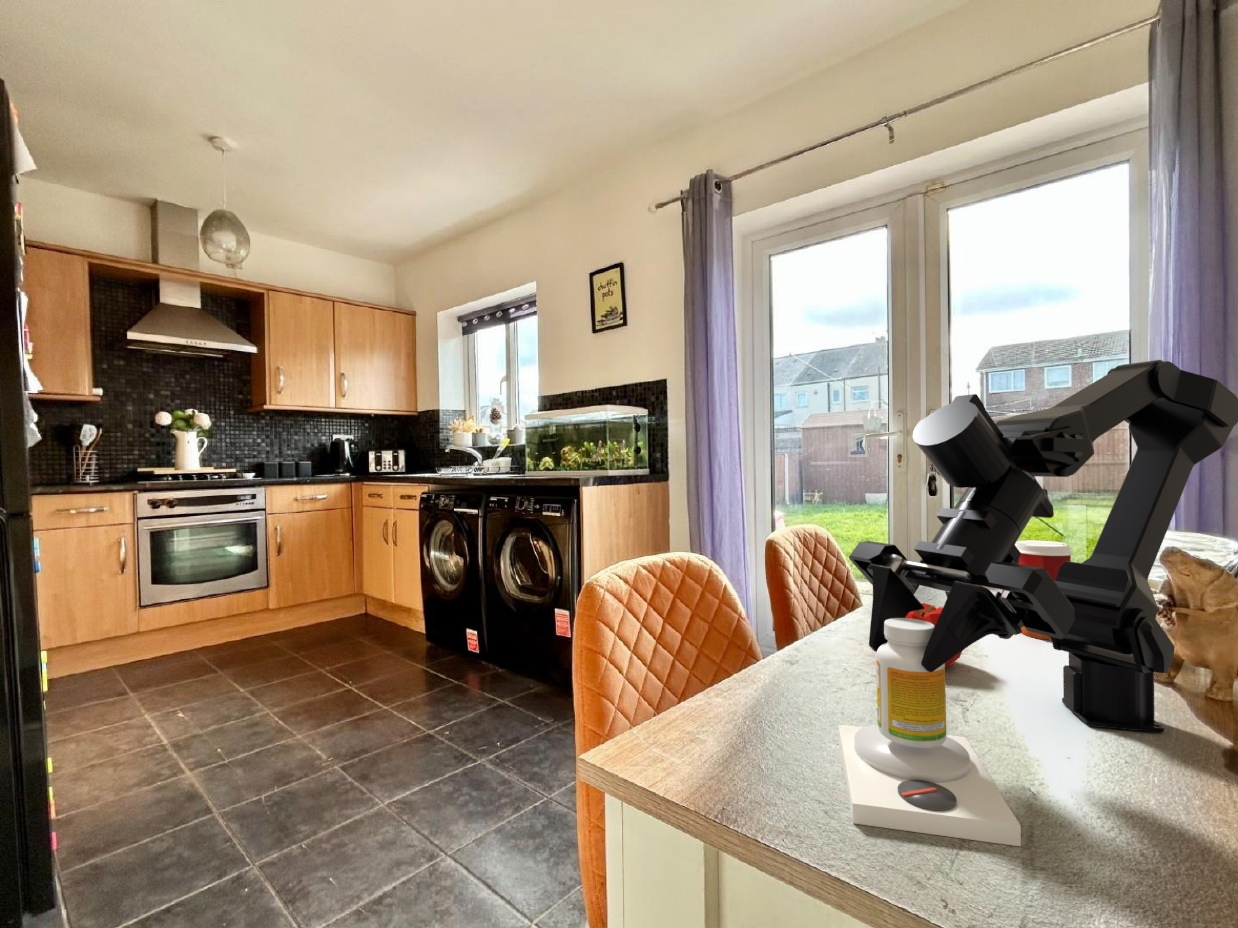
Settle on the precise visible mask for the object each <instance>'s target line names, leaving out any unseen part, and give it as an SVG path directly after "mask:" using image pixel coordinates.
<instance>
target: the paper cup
mask: <svg viewBox="0 0 1238 928" xmlns="http://www.w3.org/2000/svg"><path fill="white" fill-rule="evenodd" d="M1015 546H1016V547H1017V549H1018V550H1019V551H1020V553H1021V556H1020V557H1019V559H1020V562H1019V564H1021V565H1027V566H1033V567H1040V568H1045V570H1046V571H1047V572H1048V574H1049V575H1050V576H1051V578H1052V579H1053V580H1054V582H1055V580H1056V578H1057V575H1058V571H1059V568H1060V567H1061V566H1062V565H1063V564H1064V563H1065V562H1066V561H1069V562H1072V561H1071V559H1072V557H1071V556H1073V555H1074V552H1073V551H1072V550H1071V547H1070V546H1069V544H1068V543H1065V542H1060V541H1050V540H1049V541H1048V540H1033V539H1032V540H1031V539H1030V540H1028V539H1027V540H1026V539H1024V540H1017V542H1016V543H1015ZM1021 630H1022V632H1021V633H1020V634H1022V635H1023V636H1026V637H1029V638H1032V639H1037V638H1039V639H1038V640H1043V639H1046V640H1045V641H1052V640H1051V637H1050V636H1046V635H1042V634H1038V633H1034V632H1031V631H1028V630H1027V629H1026V628H1025V626H1023V627H1022V628H1021Z"/></svg>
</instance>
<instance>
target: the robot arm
mask: <svg viewBox="0 0 1238 928" xmlns="http://www.w3.org/2000/svg"><path fill="white" fill-rule="evenodd" d="M1122 422H1125V423H1127V424H1128V430H1129V432H1130V434H1131V436H1132V438H1133V441H1134V444H1135V445H1136V447H1137V448H1136V451H1135V454H1134V457H1133V458H1132V460H1131V463H1130V465H1129V468H1128V470H1127V472H1126V475H1125V477H1124V479H1123V481H1122V484H1121V486H1120V489H1119V491H1118V492H1117V493H1118V494H1117V496H1116V497H1115V500H1114V502H1113V504H1112V507H1111V509H1110V512H1109V514H1108V516H1107V519H1106V521H1105V523H1104V526H1102V527H1103V528H1102V529H1101V533H1100V534H1099V536H1098V538H1097V542H1096V544H1095V546H1094V548H1093V551H1092V553H1091V555H1090V557H1089V558H1087V559H1086V560H1084V561H1082V562H1075V561H1070V562H1069V561H1066V562H1065V563H1064V564H1063V565H1062V566H1061V567H1060V568H1059V571H1058V575H1057V578H1056V580H1055V582H1054V580H1053V579H1052V578H1051V576H1050V575H1049V574H1048V572H1047V571H1046V570H1045V568H1040V567H1033V566H1027V565H1021V564H1019V562H1020V559H1019V557H1020V556H1021V553H1020V551H1019V550H1018V549H1017V547H1016V546H1015V544H1016V542H1017V541H1019V538H1020V537H1021V535H1022V533H1023V531H1024V530H1025V529H1026V527H1027V525H1028V523H1029V522H1030V520H1031V519H1032V517H1033V518H1043V519H1044V518H1045V519H1052V518H1053V517H1054V515H1055V512H1054V505H1053V504H1052V503H1051V501H1050V499H1049V496H1048V495H1049V494H1048V490H1047V489H1046V488H1043V487H1042V485H1040V483H1039V481H1038V480H1037V479H1036V477H1038V478H1039V477H1045V478H1046V477H1047V478H1048V477H1049V478H1052V477H1053V478H1068V477H1070V476H1073V475H1075V474H1076V473H1077V472H1079V470H1080V469H1081V468H1082V467H1084V465H1085V464H1086V463H1087V462H1088V461H1089V460H1090V459H1091V458H1092V457H1093V455H1095V449H1094V442H1095V441H1096V440H1097V439H1099V437H1101V436H1103V435H1104V434H1106V433H1108V432H1109V431H1110V430H1112V429H1113V428H1115V427H1116V426H1118V425H1119V424H1121V423H1122ZM1237 424H1238V397H1237V395H1236V394H1235V393H1234V392H1232V391H1231V390H1230V389H1229V388H1228V387H1226V385H1224V384H1222V382H1221V381H1219V380H1217V379H1215V378H1213V377H1209V376H1208V377H1207V376H1206V375H1201V374H1198V373H1194V372H1190V371H1186V370H1183V369H1181V368H1180V367H1178V366H1177V365H1176V364H1174V363H1173V362H1172V361H1169V360H1166V361H1164V360H1162V359H1155V360H1148V361H1147V360H1146V361H1139V362H1134V363H1126V364H1120V365H1117V366H1116V367H1114V368H1111V369H1109V370H1108V372H1107V373H1106V375H1104V376H1102V377H1101V378H1100V379H1097V380H1096V381H1094V382H1092V383H1090V384H1089V385H1087V386H1085V387H1084V388H1082V389H1081V390H1079V391H1077V392H1076V393H1074V394H1071V395H1070V396H1069V397H1067V398H1065V399H1064V400H1062V401H1060V402H1059V403H1057V404H1055V405H1054V406H1052V407H1049V408H1045V409H1041V410H1036V411H1031V412H1027V413H1021V414H1017V415H1014V416H1010V417H1007V418H1004V419H1001V420H998V421H997V422H995V421H994V420H993V418H992V417H991V416H990V415H989V412H988V411H987V410H986V408H985V405H984V403H983V401H982V400H981V399H980V397H979V396H978V394H977V393H974V394H973V393H971V394H963V395H956V396H955V397H954V399H953V400H952V401H951V403H949V404H946V405H945V406H941V407H940V408H938V409H936V410H935V411H932V412H931V413H930V414H929V415H927V416H926V417H925V418H921V419H920V420H919V421H918V423H917V424H916V425H915V427H914V429H913V432H912V439H913V441H914V442H915V444H916V445H917V446H918V448H919V449H920V450H921V451H922V453H923V454H924V455H925V457H926V458H927V459H928V461H929V462H930V463H931V465H933V467H934V468H935V470H936V471H937V472H938V474H939V475H940V476H941V478H943V480H944V482H945V483H947V485H949V486H951V487H953V488H958V489H959V488H961V489H963V488H964V489H965V488H966V489H965V491H964V492H963V494H962V495H961V496H960V498H959V499H958V501H957V503H956V504H955V505H954V507H953V508H949V507H948V508H947V507H941V508H940V510H939V511H938V513H937V514H936V517H937V519H938V520H939V521H940V522H941V524H942V525H941V526H940V528H939V529H938V531H937V532H936V534H935V536H934V537H933V539H932V540H931V542H930V541H924V540H919V541H918V542H917V544H916V545H915V547H914V548H913V550H914V552H916V553H917V555H918V556H919V557H920V560H919V562H916V561H915V562H914V561H909V560H908V559H907V558H906V557H905V555H904V554H903V553H902V552H901V550H900V549H899V548H898V547H897V546H896V545H895V544H890V543H884V542H877V541H872V540H865V541H864V540H863V541H859V542H858V543H857V544H856V545H855V547H854V548H853V550H852V552H851V553H850V554H849V557H848V559H849V560H850V561H851V563H852V564H853V565H854V566H855V568H857V569H858V570H859V572H860V573H861V574H862V575H863V576H864V577H865V579H866V580H867V581H868V582H869V583H870V585H872V604H871V605H872V606H871V616H870V617H871V618H870V626H869V627H870V628H869V636H868V646H869V647H870V648H871V650H872V651H873V652H875V653H877V650H878V648H879V647H880V646H881V645H882V644H884V643H887V642H888V640H887V639H886V638H885V635H884V622H885V620H887V619H892V618H905V617H906V616H907V614H908V613H909V612H912V611H917V610H922V609H924V606H923V605H922V604H921V603H922V602H920V600H918V598H917V597H916V596H915V594H916V592H917V590H918V589H919V587H920V586H922V587H927V588H930V589H933V590H938V591H942V592H944V593H945V595H946V600H945V601H944V605H943V606H942V607H943V609H942V611H941V614H940V616H939V618H938V621H937V623H936V625H935V627H934V630H933V632H932V634H931V637H930V639H929V641H928V643H927V646H926V649H925V652H924V655H923V659H922V662H921V665H922V666H923V667H924V668H925V670H926V671H929V672H933V671H934V670H936V669H937V668H939V667H940V666H942V665H943V664H944V663H946V662H947V661H949V660H950V659H951V658H953V657H954V656H956V655H957V654H958V653H960V652H961V651H962V652H963V651H964V650H966V649H967V648H968V647H969V646H972V644H974V643H976V642H977V641H980V640H981V639H983V638H984V637H987V636H990V635H995V636H998V638H999V639H1003V640H1009V639H1011V638H1012V637H1013V636H1014V635H1015V636H1017V635H1020V634H1022V633H1021V632H1022V630H1021V628H1022V627H1023V626H1025V628H1026V629H1027V630H1028V631H1031V632H1034V633H1038V634H1042V635H1046V636H1050V637H1051V640H1050V641H1051V644H1052V647H1053V649H1054V650H1057V651H1062V652H1067V653H1068V665H1067V664H1065V665H1064V666H1063V667H1062V669H1063V671H1062V673H1063V674H1062V677H1063V681H1062V682H1063V684H1062V685H1063V697H1062V698H1061V703H1062V704H1063V705H1064V706H1066V707H1067V708H1068V709H1069V710H1070V711H1071V712H1072V713H1073V714H1074V715H1076V716H1077V717H1078V718H1079V719H1080V720H1081V721H1082V722H1083V723H1085V724H1086V725H1087V726H1091V727H1098V728H1099V727H1100V728H1110V729H1118V730H1119V729H1120V730H1131V731H1141V732H1142V731H1144V732H1151V733H1152V732H1153V733H1164V732H1165V726H1164V725H1162V724H1161V723H1159V722H1158V721H1157V720H1155V673H1159V674H1167V673H1169V668H1171V667H1172V663H1173V661H1174V654H1175V644H1173V642H1172V641H1171V638H1169V636H1168V635H1167V633H1166V632H1165V631H1164V629H1163V628H1162V626H1161V625H1160V623H1159V622H1158V620H1157V619H1156V618H1157V614H1158V610H1159V607H1158V603H1157V602H1156V599H1155V596H1154V593H1153V591H1152V589H1151V585H1150V584H1149V581H1148V579H1149V576H1150V573H1151V571H1152V568H1153V567H1154V564H1155V561H1156V560H1157V559H1156V558H1157V556H1158V553H1159V551H1160V549H1161V547H1162V544H1163V542H1164V539H1165V537H1166V534H1167V531H1168V529H1169V527H1170V524H1171V522H1172V520H1173V516H1174V514H1175V512H1176V510H1177V507H1178V505H1179V502H1180V499H1181V497H1182V495H1183V492H1184V490H1185V487H1186V485H1187V483H1188V480H1189V477H1190V475H1191V472H1192V470H1193V468H1194V466H1195V465H1196V464H1198V463H1200V462H1201V461H1202V460H1204V459H1206V458H1207V457H1209V456H1210V455H1213V454H1214V453H1215V452H1217V451H1218V450H1220V449H1222V448H1223V447H1224V445H1225V443H1226V441H1227V439H1228V438H1229V436H1230V434H1231V432H1232V431H1233V429H1234V427H1235V426H1236V425H1237Z"/></svg>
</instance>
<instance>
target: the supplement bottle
mask: <svg viewBox="0 0 1238 928" xmlns="http://www.w3.org/2000/svg"><path fill="white" fill-rule="evenodd" d="M934 627H935V626H934V625H933V624H932V623H930V622H927V621H923V620H918V619H911V618H892V619H887V620H885V622H884V635H885V638H886V639H887V640H888V642H887V643H884V644H882V645H881V646H880V647H879V648H878V650H877V652H876V658H875V659H876V663H875V665H876V706H877V708H876V711H877V714H876V715H877V718H876V719H877V724H878V729H879V731H880V733H881V734H882V735H883V736H884V737H886V738H887V739H889V740H891V741H894V742H896V743H899V744H902V745H906V746H911V747H917V748H931V747H936V746H939V745H941V744H943V743H944V742H945V740H946V735H947V709H946V708H947V705H946V704H947V701H946V700H947V698H946V696H947V695H946V667H945V663H944V664H943V665H942V666H940V667H939V668H937V669H936V670H934V671H933V672H929V671H926V670H925V668H924V667H923V666H922V665H921V662H922V659H923V655H924V652H925V649H926V646H927V643H928V641H929V639H930V637H931V634H932V632H933V630H934Z"/></svg>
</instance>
